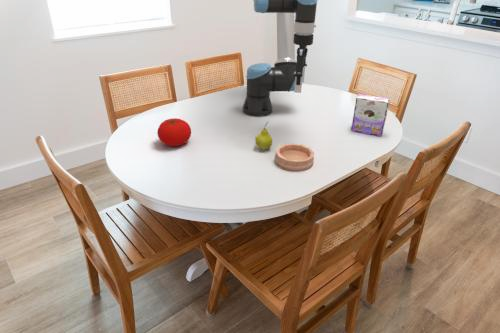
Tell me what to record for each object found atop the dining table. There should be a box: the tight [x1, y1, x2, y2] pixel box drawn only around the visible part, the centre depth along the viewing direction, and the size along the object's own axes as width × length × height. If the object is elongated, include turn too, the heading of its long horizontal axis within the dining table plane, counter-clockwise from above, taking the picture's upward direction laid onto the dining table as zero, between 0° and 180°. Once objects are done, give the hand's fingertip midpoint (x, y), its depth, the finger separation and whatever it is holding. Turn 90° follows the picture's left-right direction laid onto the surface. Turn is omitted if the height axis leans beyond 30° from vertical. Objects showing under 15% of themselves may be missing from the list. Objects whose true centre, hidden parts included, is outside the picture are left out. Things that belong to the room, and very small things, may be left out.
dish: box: [274, 143, 315, 172], centre depth 146 cm, size 15×15×4 cm
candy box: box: [350, 93, 390, 137], centre depth 168 cm, size 14×6×16 cm, turn 65°
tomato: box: [156, 117, 192, 147], centre depth 156 cm, size 14×13×10 cm
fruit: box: [255, 121, 273, 150], centre depth 153 cm, size 7×7×12 cm
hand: (299, 87), depth 154 cm, fingers open, 13 cm apart
